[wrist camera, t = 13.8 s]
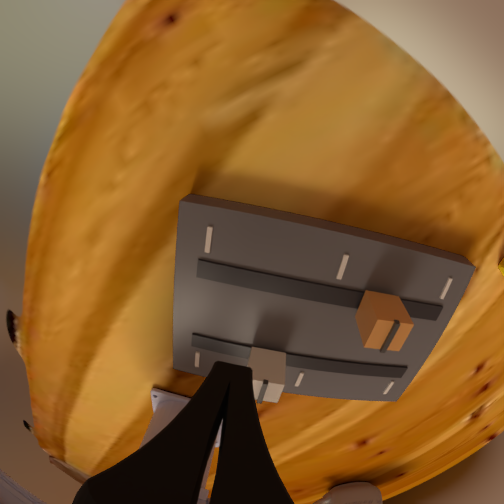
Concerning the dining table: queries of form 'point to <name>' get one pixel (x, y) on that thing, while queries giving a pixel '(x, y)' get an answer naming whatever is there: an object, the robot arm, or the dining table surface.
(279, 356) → the fader ivory
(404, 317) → the fader orange
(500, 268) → the watch
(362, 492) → the teacup
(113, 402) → the dining table surface
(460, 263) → the fader panel
